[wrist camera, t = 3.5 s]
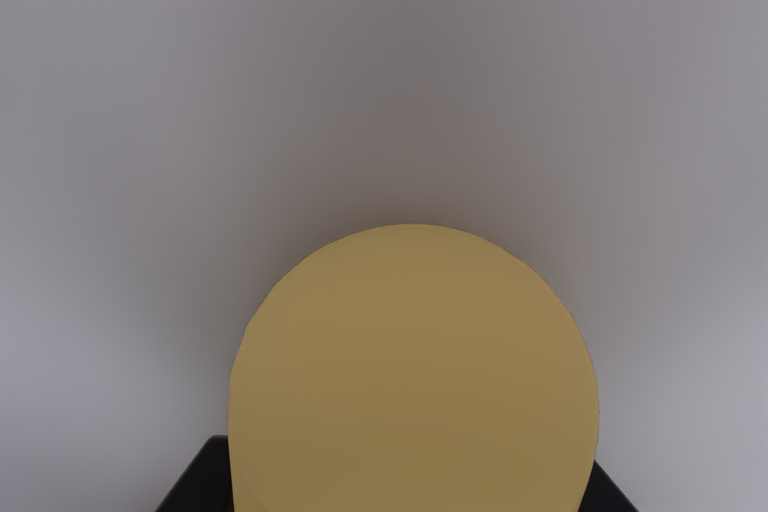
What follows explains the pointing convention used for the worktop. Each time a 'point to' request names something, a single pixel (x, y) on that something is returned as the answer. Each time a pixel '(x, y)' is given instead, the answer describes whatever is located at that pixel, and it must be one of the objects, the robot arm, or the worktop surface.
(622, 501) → the robot arm
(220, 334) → the worktop surface
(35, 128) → the worktop surface
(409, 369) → the yellow rounded cylinder
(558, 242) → the worktop surface
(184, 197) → the worktop surface
